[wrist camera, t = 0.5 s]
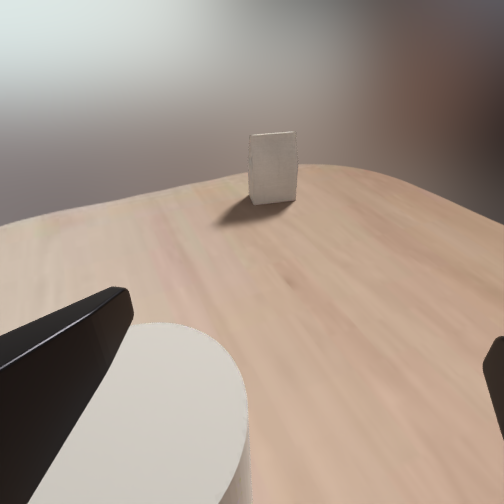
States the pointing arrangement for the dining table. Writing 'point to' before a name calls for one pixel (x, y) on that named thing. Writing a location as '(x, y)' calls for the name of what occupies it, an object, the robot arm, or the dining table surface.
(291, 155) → the light grey box
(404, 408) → the dining table surface
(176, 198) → the dining table surface
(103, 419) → the white cylinder
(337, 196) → the dining table surface
